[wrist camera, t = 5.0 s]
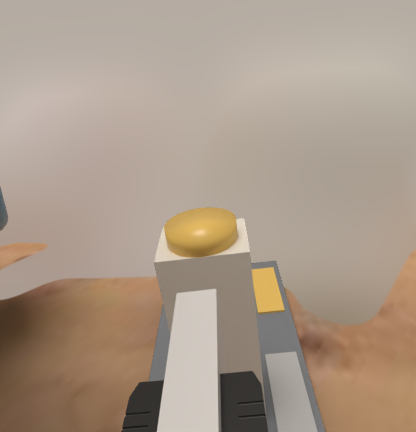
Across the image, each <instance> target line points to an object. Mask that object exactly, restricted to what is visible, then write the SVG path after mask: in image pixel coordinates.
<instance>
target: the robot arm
mask: <svg viewBox="0 0 416 432" xmlns="http://www.w3.org/2000/svg"><path fill="white" fill-rule="evenodd" d="M7 221H8V215H7V211H6V207H5V203H4V199H3V196H2V192H1V188H0V231H1V230H2V229H3V228H4V227H5V226H6V224H7ZM122 428H123V430H122V431H121V432H268V427H267V420H266V413H265V406H264V399H263V392H262V385H261V383H260V381H259V380H258V378H257V377H256V375H255V374H254V372H253V371H245V372H234V373H226V355H225V341H224V335H223V328H222V322H221V316H220V309H219V303H218V297H217V290H216V289H210V290H201V291H192V292H182V293H177V295H176V302H175V309H174V315H173V322H172V329H171V336H170V343H169V350H168V357H167V364H166V371H165V378H164V380H160V381H149V382H139V384H138V385H137V387H136V388H135V390H134V391H133V393H132V394H131V396H130V397H129V402H128V406H127V410H126V417H125V419H124V423H123V427H122Z"/></svg>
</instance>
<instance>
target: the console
mask: <svg viewBox="0 0 416 432" xmlns="http://www.w3.org/2000/svg"><path fill="white" fill-rule="evenodd" d="M251 267H252V277H253V287H254V297H255V307H256V317H257V327H258V337H259V347H260V357H261V367H262V377H263V387H264V397H265V407H266V420H267V427H268V432H325V429H324V426H323V422H322V419H321V415H320V412H319V408H318V405H317V401H316V398H315V394H314V391H313V388H312V384H311V381H310V377H309V374H308V370H307V367H306V363H305V360H304V356H303V353H302V349H301V346H300V342H299V339H298V336H297V332H296V329H295V325H294V322H293V318H292V315H291V311H290V308H289V304H288V301H287V297H286V294H285V290H284V287H283V284H282V280H281V277H280V273H279V270H278V267H277V263H276V261H270V262H269V261H268V262H259V263H251ZM169 343H170V331H169V327H168V322H167V318H166V314H165V309H164V305H163V306H162V312H161V317H160V323H159V328H158V334H157V339H156V345H155V350H154V355H153V361H152V366H151V372H150V377H149V381H160V380H164V378H165V371H166V364H167V357H168V350H169Z"/></svg>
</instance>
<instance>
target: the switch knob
mask: <svg viewBox="0 0 416 432" xmlns="http://www.w3.org/2000/svg"><path fill="white" fill-rule="evenodd" d="M154 265H155V270H156V274H157V278H158V283H159V287H160V292H161V296H162V300H163V305H164V309H165V314H166V318H167V322H168V327H169V331H170V336H171V329H172V322H173V315H174V309H175V302H176V295H177V293H182V292H192V291H201V290H210V289H216V290H217V297H218V303H219V309H220V316H221V322H222V328H223V335H224V341H225V355H226V373H234V372H245V371H253V372H254V374H255V375H256V377H257V378H258V380H259V381H260V383H261V385H262V392H263V399H264V406H265V397H264V387H263V377H262V367H261V357H260V347H259V337H258V327H257V317H256V307H255V297H254V287H253V277H252V267H251V257H250V249H249V244H248V238H247V232H246V227H245V221H244V218H241V219H236V217H235V215H234V214H233V213H232V212H230V211H228V210H225V209H221V208H198V209H193V210H189V211H185V212H182V213H180V214H178V215H176V216H174V217H172V218H171V219H170V220H169V221H168V222H167V223H166V224H165V226H164V227H163V229H162V233H161V237H160V241H159V245H158V248H157V252H156V256H155V261H154ZM265 413H266V407H265Z"/></svg>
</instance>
